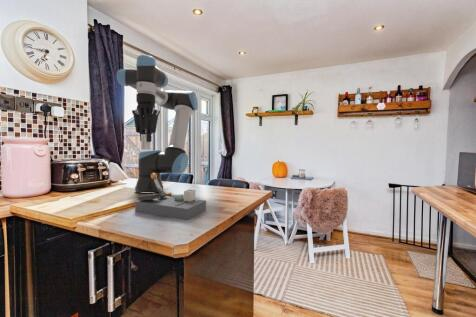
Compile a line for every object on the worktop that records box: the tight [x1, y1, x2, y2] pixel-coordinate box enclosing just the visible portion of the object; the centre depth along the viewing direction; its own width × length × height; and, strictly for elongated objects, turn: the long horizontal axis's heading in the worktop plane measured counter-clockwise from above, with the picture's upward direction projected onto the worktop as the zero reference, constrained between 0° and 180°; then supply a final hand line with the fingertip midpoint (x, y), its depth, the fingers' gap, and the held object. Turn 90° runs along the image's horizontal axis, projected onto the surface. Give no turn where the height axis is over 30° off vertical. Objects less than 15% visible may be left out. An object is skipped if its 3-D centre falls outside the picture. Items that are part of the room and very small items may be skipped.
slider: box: [183, 189, 196, 202], centre depth 98 cm, size 4×3×4 cm
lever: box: [151, 173, 167, 198], centre depth 101 cm, size 3×3×11 cm
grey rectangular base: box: [134, 193, 207, 221], centre depth 96 cm, size 14×24×6 cm, turn 70°
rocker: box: [137, 193, 161, 201], centre depth 96 cm, size 5×7×2 cm
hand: (145, 149), depth 102 cm, fingers closed
